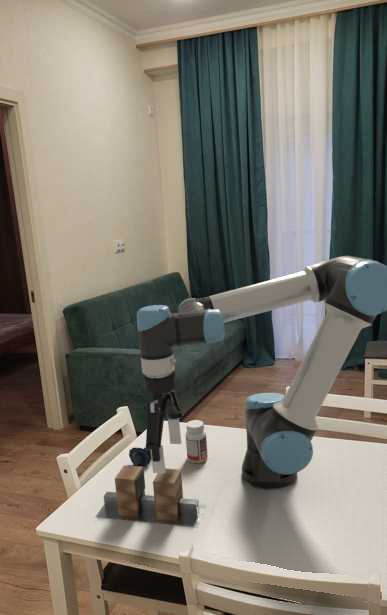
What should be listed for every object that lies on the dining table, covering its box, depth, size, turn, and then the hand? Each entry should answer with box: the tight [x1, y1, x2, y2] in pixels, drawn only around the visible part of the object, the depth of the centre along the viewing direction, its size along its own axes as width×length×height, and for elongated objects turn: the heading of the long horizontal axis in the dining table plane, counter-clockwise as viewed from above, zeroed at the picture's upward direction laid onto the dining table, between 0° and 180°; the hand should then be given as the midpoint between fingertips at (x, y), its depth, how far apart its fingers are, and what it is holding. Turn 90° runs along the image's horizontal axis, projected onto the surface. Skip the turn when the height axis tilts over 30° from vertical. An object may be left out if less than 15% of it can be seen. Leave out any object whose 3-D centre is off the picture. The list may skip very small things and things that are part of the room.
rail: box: [95, 491, 207, 529], centre depth 120 cm, size 26×9×4 cm, turn 76°
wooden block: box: [114, 465, 146, 517], centre depth 120 cm, size 5×6×10 cm
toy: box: [128, 446, 152, 467], centre depth 146 cm, size 8×7×15 cm
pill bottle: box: [185, 419, 208, 464], centre depth 144 cm, size 6×6×11 cm
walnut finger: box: [152, 467, 184, 521], centre depth 118 cm, size 5×6×10 cm
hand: (168, 457), depth 116 cm, fingers open, 13 cm apart
